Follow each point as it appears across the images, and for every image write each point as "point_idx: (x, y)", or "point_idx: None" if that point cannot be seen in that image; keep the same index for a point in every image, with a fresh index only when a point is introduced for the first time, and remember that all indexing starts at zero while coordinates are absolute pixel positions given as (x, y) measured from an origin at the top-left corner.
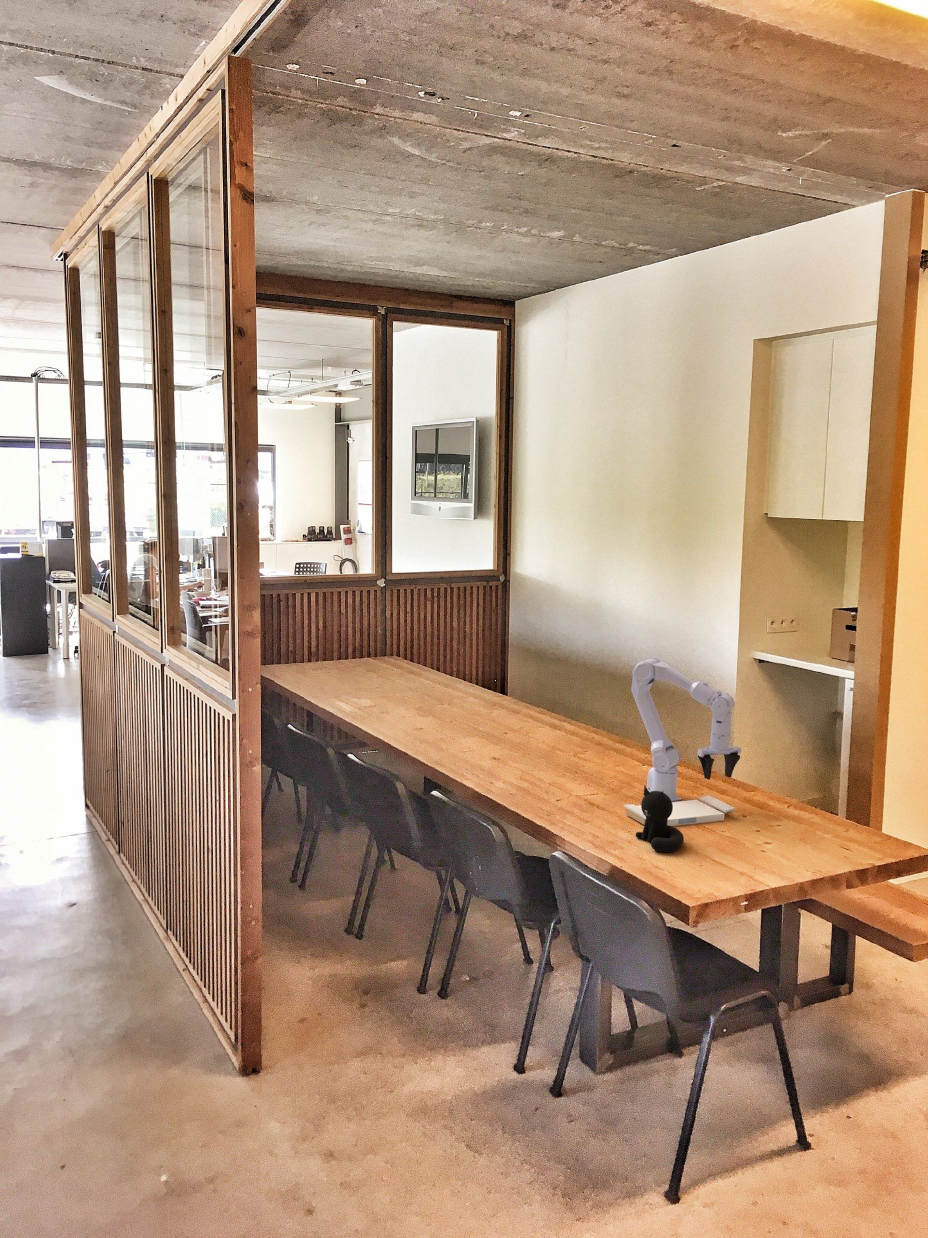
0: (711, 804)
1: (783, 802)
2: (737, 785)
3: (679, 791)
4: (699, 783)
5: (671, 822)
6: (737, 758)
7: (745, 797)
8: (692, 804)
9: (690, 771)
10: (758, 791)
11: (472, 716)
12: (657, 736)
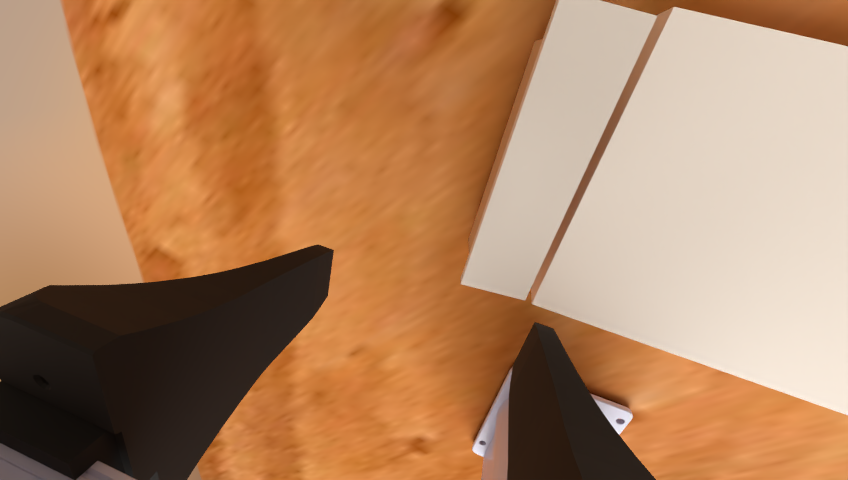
0: (575, 189)
1: (110, 75)
2: None
3: (415, 414)
4: (281, 405)
5: None
6: (84, 307)
7: (227, 223)
8: (642, 274)
9: (231, 461)
10: (138, 236)
11: None
12: None
